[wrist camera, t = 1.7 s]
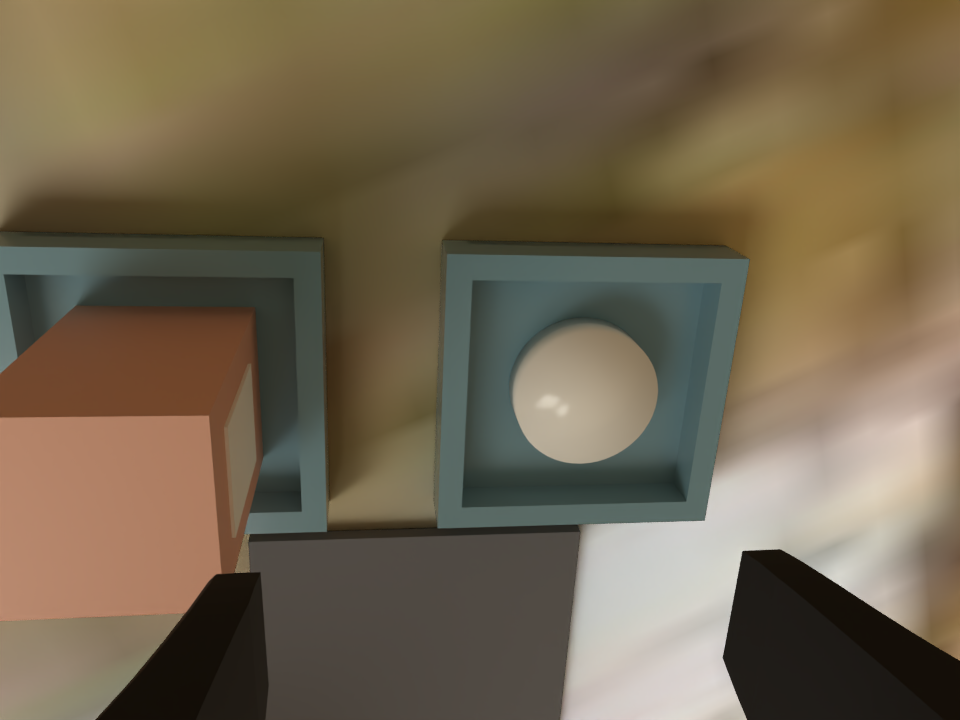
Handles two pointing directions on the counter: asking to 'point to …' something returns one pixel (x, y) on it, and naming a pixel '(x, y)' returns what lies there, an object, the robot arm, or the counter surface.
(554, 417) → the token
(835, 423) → the counter surface
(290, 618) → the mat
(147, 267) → the dish
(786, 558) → the robot arm
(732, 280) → the dish
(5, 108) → the counter surface
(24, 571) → the brown rectangular block
